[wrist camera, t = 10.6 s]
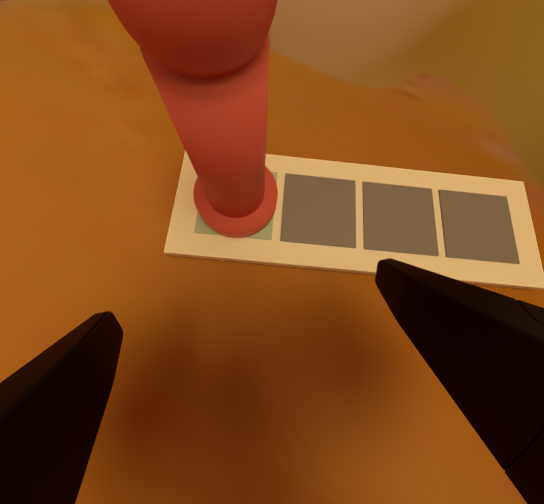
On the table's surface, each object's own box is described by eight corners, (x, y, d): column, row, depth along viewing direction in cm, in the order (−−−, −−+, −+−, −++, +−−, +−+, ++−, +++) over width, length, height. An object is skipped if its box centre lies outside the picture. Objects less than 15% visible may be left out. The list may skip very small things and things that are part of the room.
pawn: (268, 244, 17) (307, -72, 3) (189, 229, 17) (-130, -153, 3) (282, 174, 18) (348, -255, 4) (209, 161, 18) (53, -307, 4)
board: (513, 186, 20) (524, 180, 19) (534, 289, 18) (548, 288, 17) (189, 152, 19) (186, 144, 18) (168, 255, 17) (162, 252, 16)
